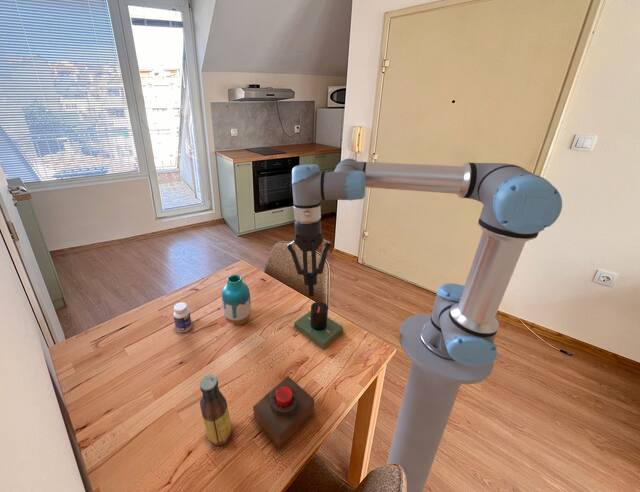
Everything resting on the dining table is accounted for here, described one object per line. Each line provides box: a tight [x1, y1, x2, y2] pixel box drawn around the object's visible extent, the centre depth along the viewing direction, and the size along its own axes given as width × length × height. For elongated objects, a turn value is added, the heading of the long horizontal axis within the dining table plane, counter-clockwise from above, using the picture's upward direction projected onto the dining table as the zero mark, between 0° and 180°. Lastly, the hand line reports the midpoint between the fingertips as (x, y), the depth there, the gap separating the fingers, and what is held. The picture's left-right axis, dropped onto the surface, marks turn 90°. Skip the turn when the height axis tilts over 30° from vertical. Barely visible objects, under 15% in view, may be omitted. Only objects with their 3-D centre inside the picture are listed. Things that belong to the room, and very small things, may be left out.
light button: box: [276, 386, 292, 407], centre depth 76 cm, size 4×4×2 cm
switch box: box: [252, 375, 315, 450], centre depth 78 cm, size 13×10×8 cm
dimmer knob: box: [310, 301, 329, 331], centre depth 105 cm, size 6×6×8 cm
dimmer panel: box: [293, 310, 344, 350], centre depth 108 cm, size 14×11×3 cm
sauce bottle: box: [199, 374, 232, 446], centre depth 72 cm, size 6×6×20 cm
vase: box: [221, 274, 252, 325], centre depth 110 cm, size 11×11×19 cm
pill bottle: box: [172, 301, 192, 333], centre depth 108 cm, size 6×6×10 cm
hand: (311, 293), depth 90 cm, fingers closed
